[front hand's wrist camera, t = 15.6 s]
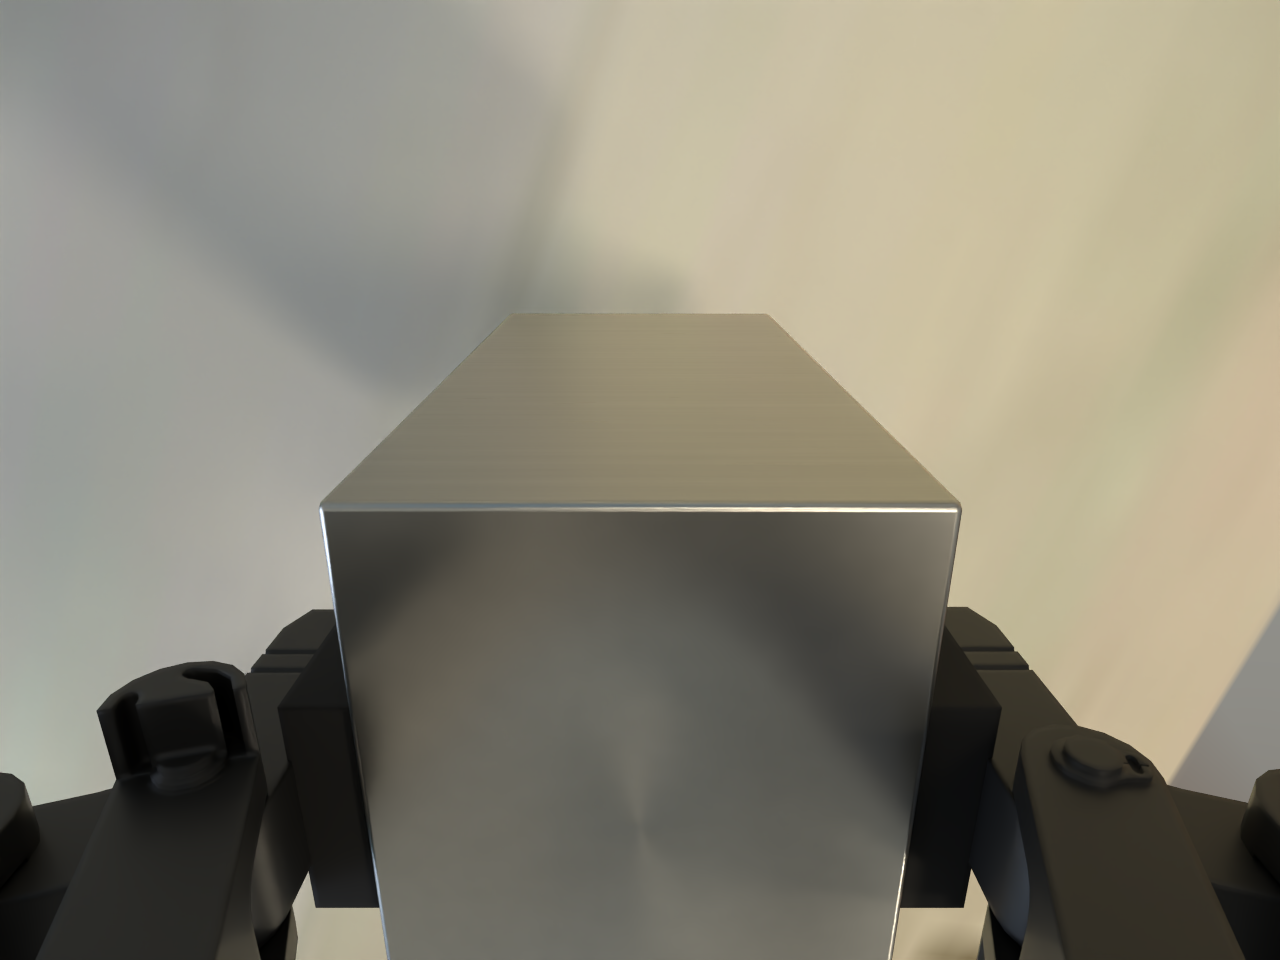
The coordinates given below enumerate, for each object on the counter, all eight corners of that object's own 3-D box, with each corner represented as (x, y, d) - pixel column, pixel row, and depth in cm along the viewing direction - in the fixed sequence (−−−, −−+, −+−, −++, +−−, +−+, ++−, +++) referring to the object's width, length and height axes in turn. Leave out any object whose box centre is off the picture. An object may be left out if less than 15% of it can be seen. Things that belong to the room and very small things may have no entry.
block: (769, 313, 18) (967, 503, 7) (752, 603, 20) (878, 1065, 10) (509, 312, 18) (314, 503, 7) (525, 604, 20) (400, 1065, 10)
